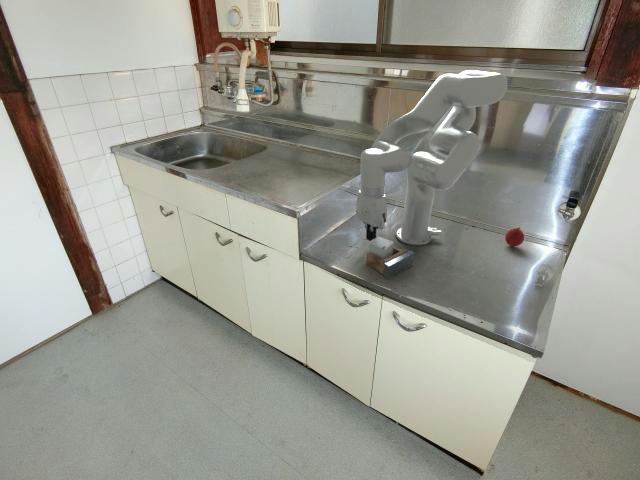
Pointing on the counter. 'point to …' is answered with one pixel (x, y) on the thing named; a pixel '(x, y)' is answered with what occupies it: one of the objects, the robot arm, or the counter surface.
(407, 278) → the counter surface
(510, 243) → the onion
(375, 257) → the caddy
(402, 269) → the backstop rail
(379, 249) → the skincare box
